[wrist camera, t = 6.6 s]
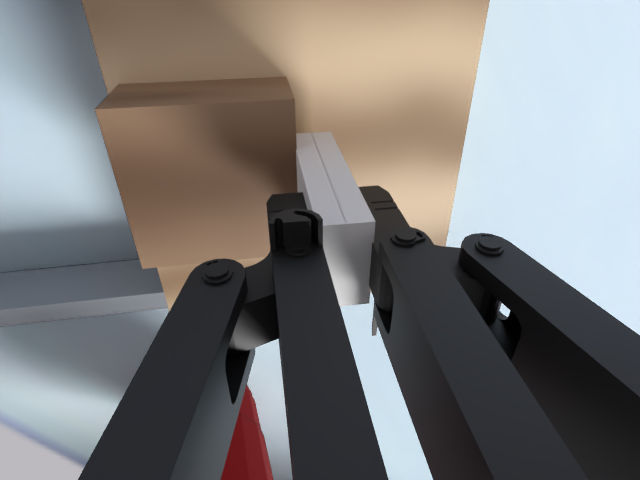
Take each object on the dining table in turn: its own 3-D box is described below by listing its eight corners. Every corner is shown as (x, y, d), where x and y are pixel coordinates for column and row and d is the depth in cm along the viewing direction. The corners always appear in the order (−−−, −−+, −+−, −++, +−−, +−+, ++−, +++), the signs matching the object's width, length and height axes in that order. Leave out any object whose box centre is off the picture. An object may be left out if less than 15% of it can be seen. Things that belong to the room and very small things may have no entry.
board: (419, 252, 26) (438, 284, 23) (177, 277, 24) (170, 315, 21) (466, -83, 17) (505, -90, 14) (86, -81, 15) (56, -87, 13)
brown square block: (293, 215, 19) (300, 253, 17) (155, 227, 19) (142, 268, 16) (286, 76, 16) (294, 99, 14) (118, 84, 15) (95, 109, 13)
